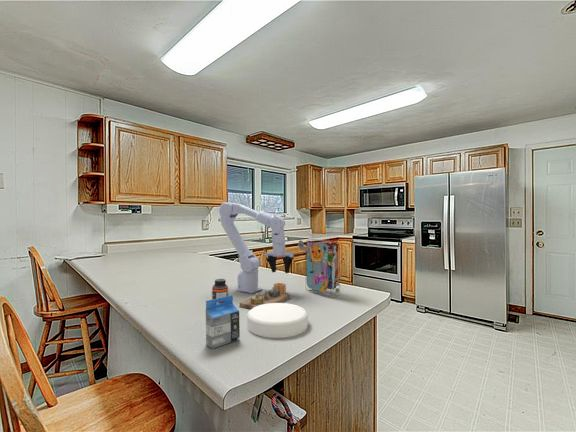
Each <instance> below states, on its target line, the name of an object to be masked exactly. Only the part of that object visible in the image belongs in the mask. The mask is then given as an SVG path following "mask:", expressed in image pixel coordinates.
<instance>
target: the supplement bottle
mask: <svg viewBox="0 0 576 432" xmlns="http://www.w3.org/2000/svg"><path fill="white" fill-rule="evenodd" d="M211 288H212V289H211V300H213V299H218V298H222V297H227V296H229V286H228V284H227V282H226V279H225V278H216V279H214V285H212V287H211ZM222 303H224V301H222V302H221V301H219V302H218V303H215V305H218V304H222Z"/></svg>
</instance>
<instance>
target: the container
mask: <svg viewBox="0 0 576 432" xmlns="http://www.w3.org/2000/svg"><path fill="white" fill-rule="evenodd" d="M308 314H309V313H308V312H307V310H305V308H303V307H302V306H299V305H297V304H293V303H285V302H282V303H268V304H263V305H259V306H256V307H254V308H252V309H249V311H248V312H247V314H246V327H247V330H248V331H249V332H250V333H251V334H253V335H256V336H260V337H265V338H271V339H274V338H277V339H279V338H280V339H282V338H291V337H294V336H297V335H300V334H302V333H304V332H306V330H307V328H308V327H309V326H308V325H309V320H308V319H309V316H308Z"/></svg>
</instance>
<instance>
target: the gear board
mask: <svg viewBox="0 0 576 432" xmlns="http://www.w3.org/2000/svg"><path fill="white" fill-rule="evenodd" d="M263 292H264V293H261V294H260V293H257V292H255V293H254V295H253V296H250V298H249V299H247V300H246V299H245V300H244V301H241V302H239V308H244V309H247V310H251V309H252V308H254V307H256V306H259V305H263V304H268V303H285V301H288V300H290V299H291V295H290V294H286V293H285V294H281V293H280V291H279V290H276V287H274V286H273V287H272V289H264V290H263Z"/></svg>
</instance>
